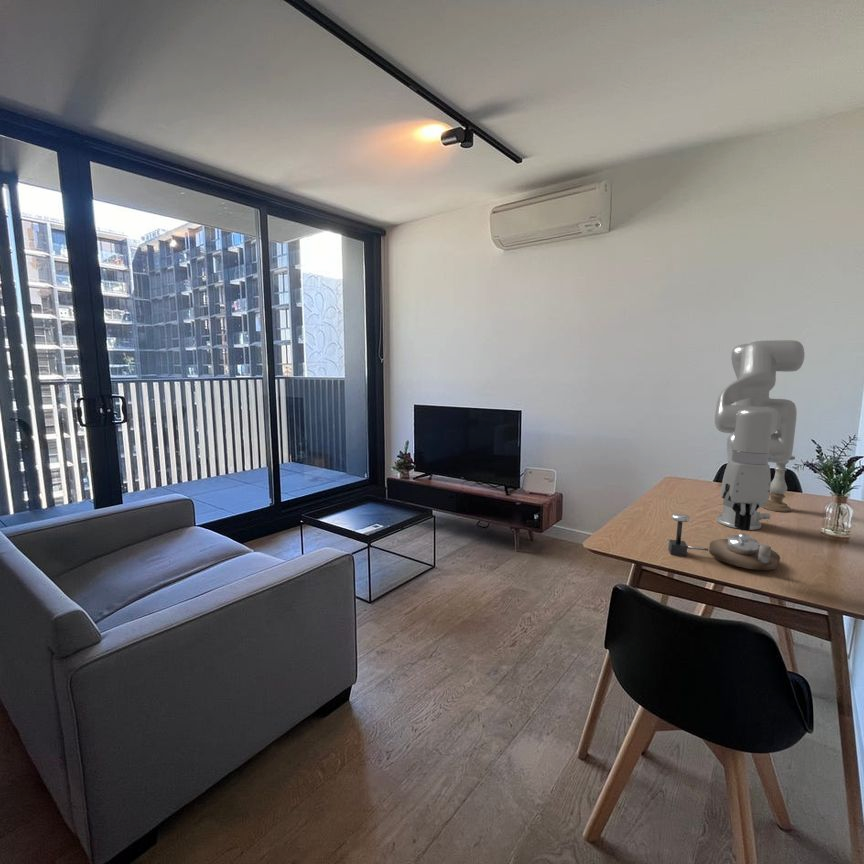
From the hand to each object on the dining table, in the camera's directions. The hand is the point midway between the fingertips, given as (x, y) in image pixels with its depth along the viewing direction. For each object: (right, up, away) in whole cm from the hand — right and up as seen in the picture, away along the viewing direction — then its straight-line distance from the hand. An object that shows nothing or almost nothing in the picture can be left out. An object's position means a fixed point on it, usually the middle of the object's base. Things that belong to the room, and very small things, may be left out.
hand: (741, 528), depth 118 cm
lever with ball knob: (-7, -10, +13) cm, 18 cm away
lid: (+6, -8, +8) cm, 13 cm away
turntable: (+6, -10, +9) cm, 14 cm away
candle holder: (+49, -4, +55) cm, 74 cm away
